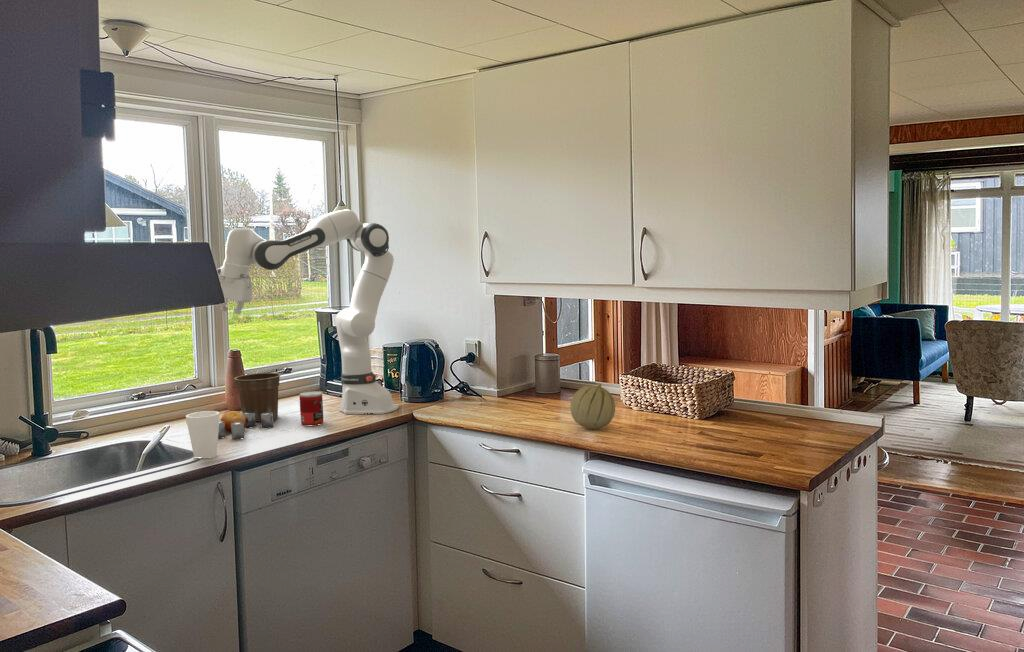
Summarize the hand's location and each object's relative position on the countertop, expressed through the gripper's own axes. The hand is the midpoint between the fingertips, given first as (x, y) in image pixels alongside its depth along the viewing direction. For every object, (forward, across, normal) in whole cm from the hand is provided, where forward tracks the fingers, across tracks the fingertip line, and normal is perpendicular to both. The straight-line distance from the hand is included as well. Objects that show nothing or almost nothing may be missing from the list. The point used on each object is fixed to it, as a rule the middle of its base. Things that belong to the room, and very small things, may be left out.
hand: (230, 312), depth 273 cm
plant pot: (+38, +1, -18) cm, 42 cm away
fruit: (+40, -10, -2) cm, 42 cm away
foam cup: (+42, -34, +20) cm, 58 cm away
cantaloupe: (+20, -107, -75) cm, 132 cm away
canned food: (+35, -22, -25) cm, 48 cm away
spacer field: (+40, -11, -2) cm, 41 cm away
